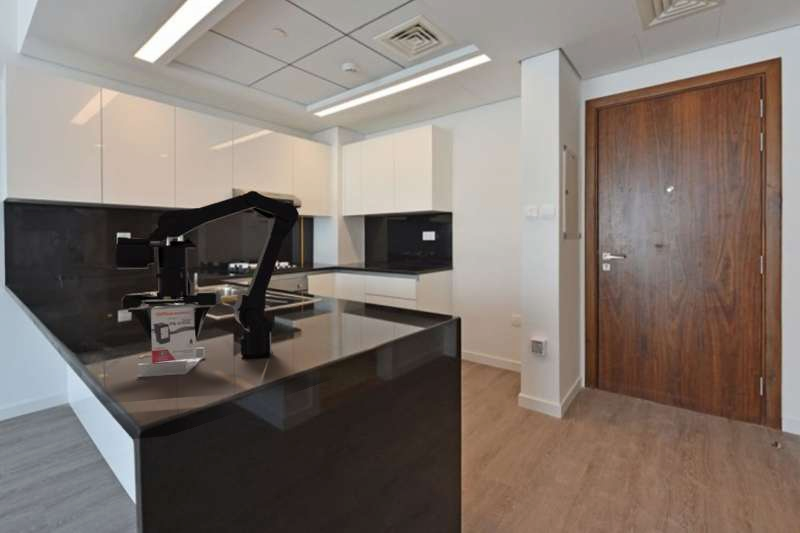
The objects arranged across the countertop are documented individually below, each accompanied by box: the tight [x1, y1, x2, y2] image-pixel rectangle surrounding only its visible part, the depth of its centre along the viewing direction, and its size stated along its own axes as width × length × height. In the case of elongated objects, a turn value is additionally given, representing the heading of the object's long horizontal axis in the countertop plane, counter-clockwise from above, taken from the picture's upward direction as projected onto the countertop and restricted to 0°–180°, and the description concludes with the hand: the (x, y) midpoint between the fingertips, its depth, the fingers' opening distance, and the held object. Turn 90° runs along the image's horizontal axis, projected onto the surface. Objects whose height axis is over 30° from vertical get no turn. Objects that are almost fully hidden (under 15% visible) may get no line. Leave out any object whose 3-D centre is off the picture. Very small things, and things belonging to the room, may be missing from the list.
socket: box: [137, 346, 206, 378], centre depth 88 cm, size 9×14×2 cm, turn 13°
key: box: [139, 353, 152, 360], centre depth 97 cm, size 6×2×1 cm, turn 123°
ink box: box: [151, 303, 197, 363], centre depth 88 cm, size 8×5×12 cm, turn 117°
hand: (174, 337), depth 88 cm, fingers closed on ink box, 9 cm apart
